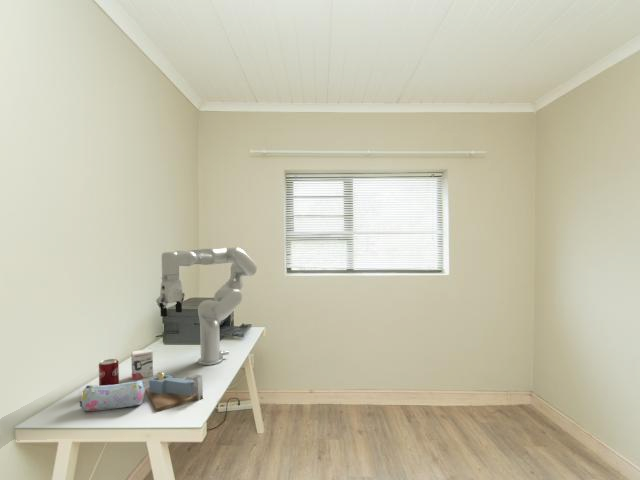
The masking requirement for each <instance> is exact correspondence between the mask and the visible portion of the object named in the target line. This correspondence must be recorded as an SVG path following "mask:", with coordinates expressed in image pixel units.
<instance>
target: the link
mask: <svg viewBox="0 0 640 480" xmlns="http://www.w3.org/2000/svg"><path fill="white" fill-rule="evenodd" d="M185 379H186V378H179V377H178V378H177V377H174V375H169V374H164V379H163V380H158V375H156V376H154V377H153V378H151V379H149V380H148V388H149V392H151V393H157V394H163V393H172V394H178V395H184V396H192V395H194V381H192V380H185Z"/></svg>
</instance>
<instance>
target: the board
mask: <svg viewBox="0 0 640 480" xmlns="http://www.w3.org/2000/svg"><path fill="white" fill-rule="evenodd" d="M184 379H185V380H187V378H184ZM145 394H146V396H147V397H148V399H149V401H150V402H151V404H152V406H153V407H154V409H155V411H156V413H157V412H160V411H163V410H164V411H165V410H167V409H171V408H174V407H175V408H176V407H178V406H181V405H186V404H189V403H192V402H195V401H198V400H197V397H194V395H192V396H184V395H178V394H172V393H163V394H157V393H151V392H149V387H146V388H145ZM203 396H204V395H202V396H201V399H200V400H202V399H204V397H203Z"/></svg>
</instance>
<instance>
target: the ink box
mask: <svg viewBox="0 0 640 480" xmlns="http://www.w3.org/2000/svg"><path fill="white" fill-rule="evenodd" d="M153 353H154V351H153V349H152V348H145V349H140V350H139V349H138V350H134V351H131V353H130V354H131V357H130V358H131V378H132V380H133V381H136V380H138V379H144V378H149V377H153V376H154V361H153V359H154V357H153V356H154V355H153Z"/></svg>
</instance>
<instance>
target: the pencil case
mask: <svg viewBox="0 0 640 480" xmlns="http://www.w3.org/2000/svg"><path fill="white" fill-rule="evenodd" d="M145 394H146V391H145V382H144V381H143V380H137V381H136V380H135V381H129V382H122V383H119V384H115V385H103V386H99V385H92V384H90V385H86V386H85V388H84V389H83V390H82V396H81V399H80V401H79V406H80V408H81V409H82V411H84V412H98V411H105V410H106V411H107V410H113V409H121V408H122V409H123V408H127V407H136V406H139V405H140V406H141V405H142V403H143V400H144V397H145Z"/></svg>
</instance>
